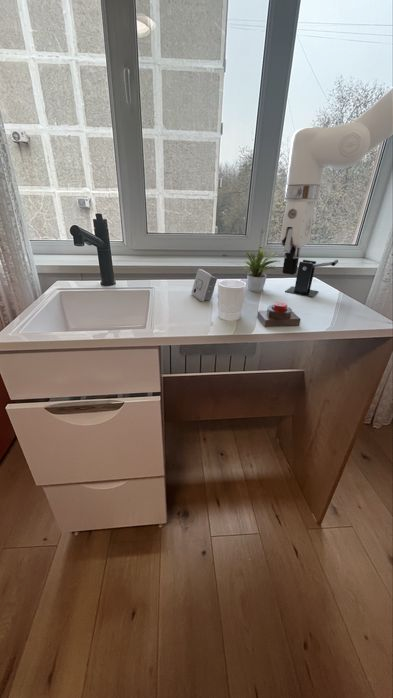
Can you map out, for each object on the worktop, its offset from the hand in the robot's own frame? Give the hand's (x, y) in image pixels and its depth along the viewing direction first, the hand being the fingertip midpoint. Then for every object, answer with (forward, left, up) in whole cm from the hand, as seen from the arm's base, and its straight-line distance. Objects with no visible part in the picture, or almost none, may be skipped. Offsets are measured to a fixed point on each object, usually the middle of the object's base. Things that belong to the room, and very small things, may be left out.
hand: (289, 273), depth 75 cm
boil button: (+1, +1, -10) cm, 10 cm away
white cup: (+14, +6, -14) cm, 20 cm away
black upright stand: (+3, -29, -14) cm, 33 cm away
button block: (+1, +1, -14) cm, 14 cm away
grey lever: (-1, -29, -4) cm, 30 cm away
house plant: (+18, -20, -14) cm, 31 cm away
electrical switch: (+30, -4, -14) cm, 33 cm away
